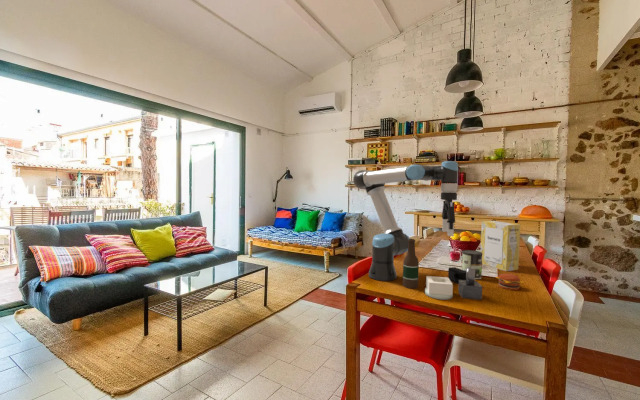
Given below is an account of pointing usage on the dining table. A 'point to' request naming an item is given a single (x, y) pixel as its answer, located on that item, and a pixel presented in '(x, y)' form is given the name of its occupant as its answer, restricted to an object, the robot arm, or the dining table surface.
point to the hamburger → (509, 281)
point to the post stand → (470, 286)
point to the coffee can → (472, 261)
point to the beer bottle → (410, 267)
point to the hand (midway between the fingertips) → (447, 233)
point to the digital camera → (456, 275)
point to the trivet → (438, 295)
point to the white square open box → (439, 285)
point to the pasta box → (500, 245)
